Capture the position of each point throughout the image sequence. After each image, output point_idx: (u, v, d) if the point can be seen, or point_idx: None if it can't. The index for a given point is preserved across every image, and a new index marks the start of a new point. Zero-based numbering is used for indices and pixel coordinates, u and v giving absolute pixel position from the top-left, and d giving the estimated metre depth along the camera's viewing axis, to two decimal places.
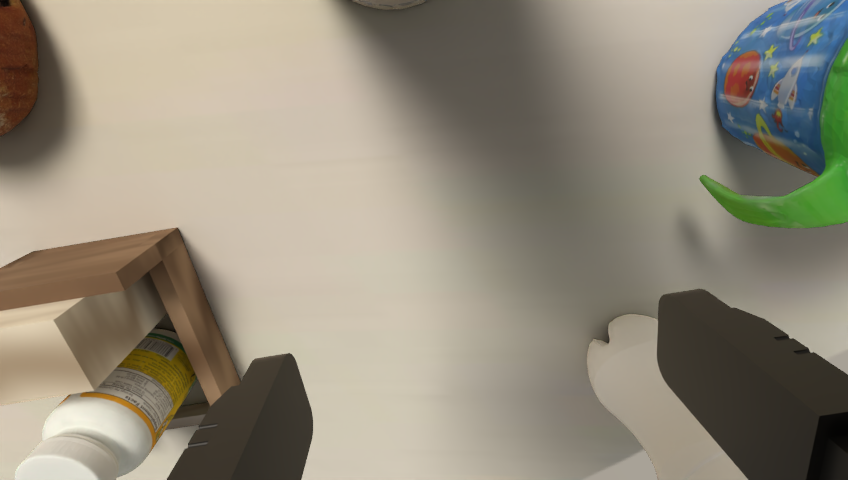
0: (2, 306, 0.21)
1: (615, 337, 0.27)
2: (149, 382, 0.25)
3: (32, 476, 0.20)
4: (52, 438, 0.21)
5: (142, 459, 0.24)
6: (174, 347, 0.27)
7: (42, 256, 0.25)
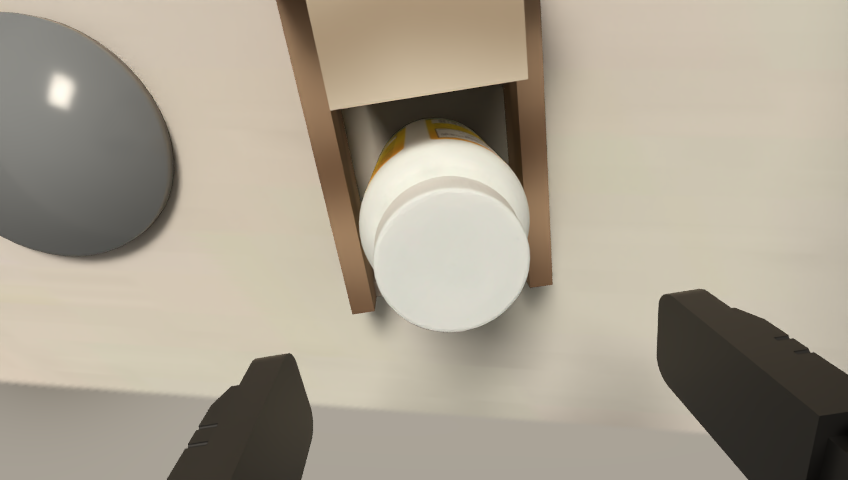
0: None
1: None
2: None
3: (412, 239, 0.10)
4: (435, 178, 0.11)
5: None
6: None
7: None
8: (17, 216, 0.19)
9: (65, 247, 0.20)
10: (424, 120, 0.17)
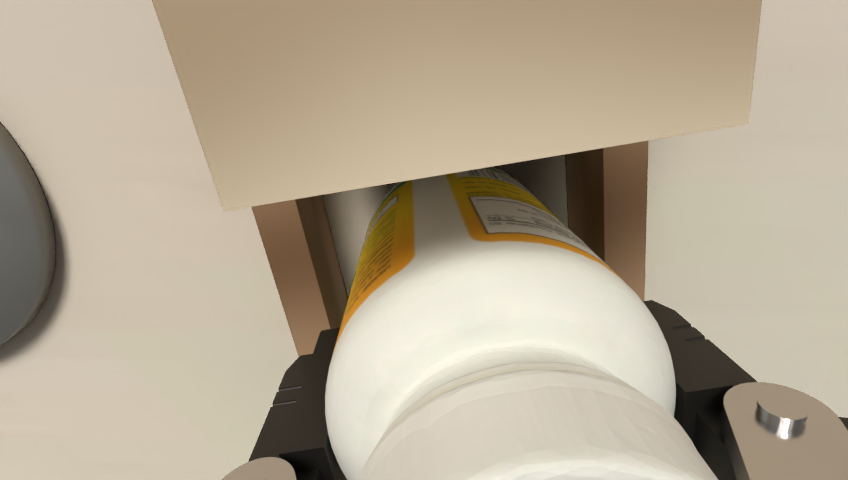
0: None
1: None
2: None
3: None
4: (505, 380, 0.04)
5: None
6: None
7: None
8: None
9: None
10: None
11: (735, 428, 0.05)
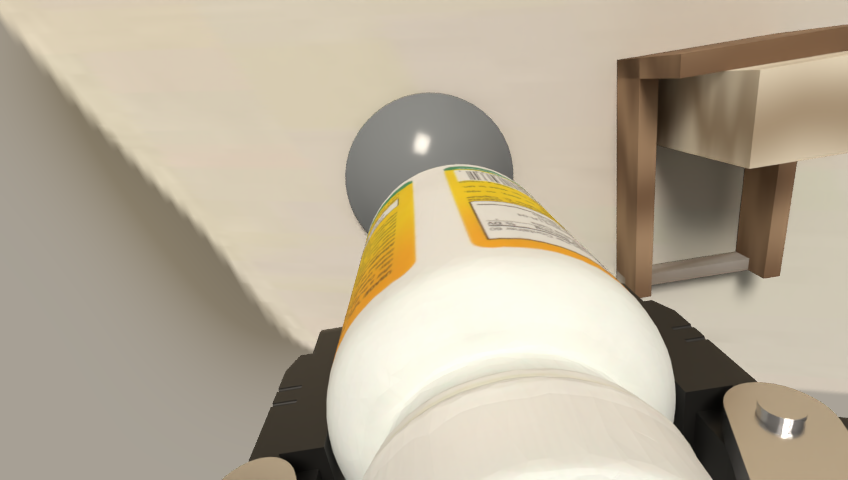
0: (748, 61, 0.19)
1: None
2: None
3: None
4: (506, 387, 0.04)
5: None
6: None
7: None
8: None
9: None
10: (443, 171, 0.11)
11: (735, 428, 0.05)
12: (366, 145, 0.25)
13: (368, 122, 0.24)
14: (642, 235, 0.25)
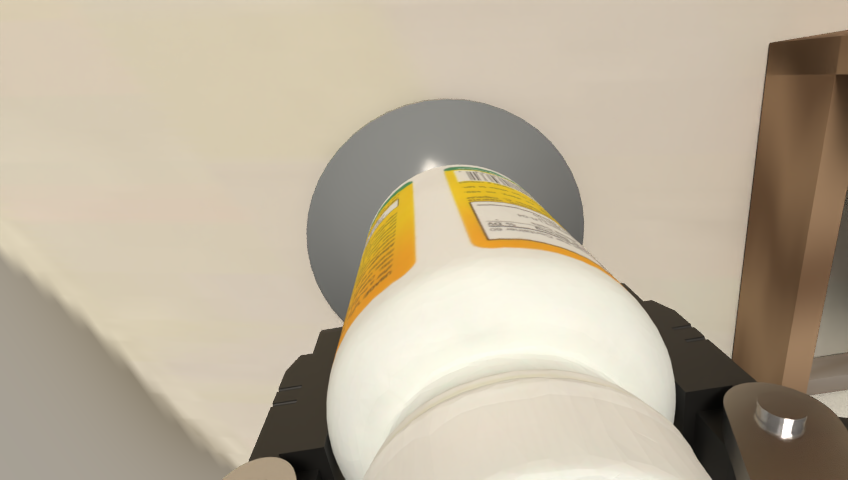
0: None
1: None
2: None
3: None
4: (505, 389, 0.04)
5: None
6: (534, 199, 0.11)
7: None
8: None
9: None
10: (443, 172, 0.11)
11: (735, 428, 0.05)
12: (341, 187, 0.15)
13: (343, 149, 0.14)
14: (800, 335, 0.15)
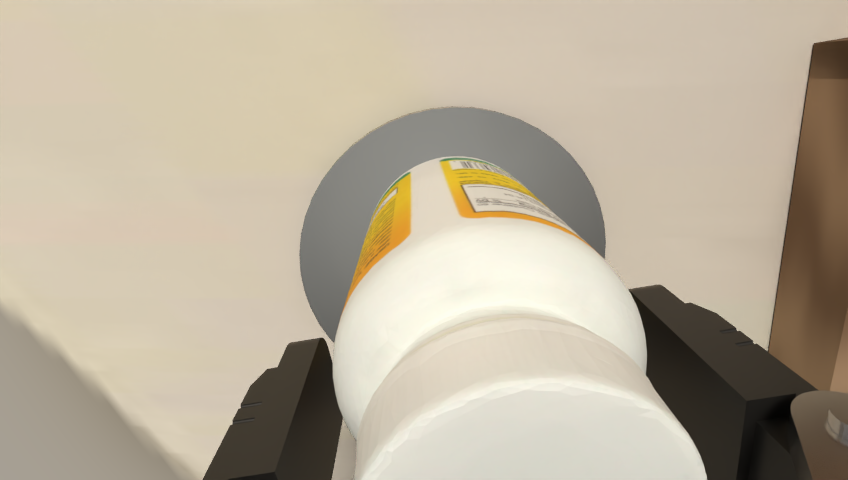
0: None
1: None
2: None
3: None
4: (485, 326, 0.05)
5: None
6: None
7: None
8: None
9: None
10: (438, 162, 0.12)
11: (808, 440, 0.05)
12: (337, 205, 0.13)
13: (339, 163, 0.13)
14: (845, 366, 0.14)
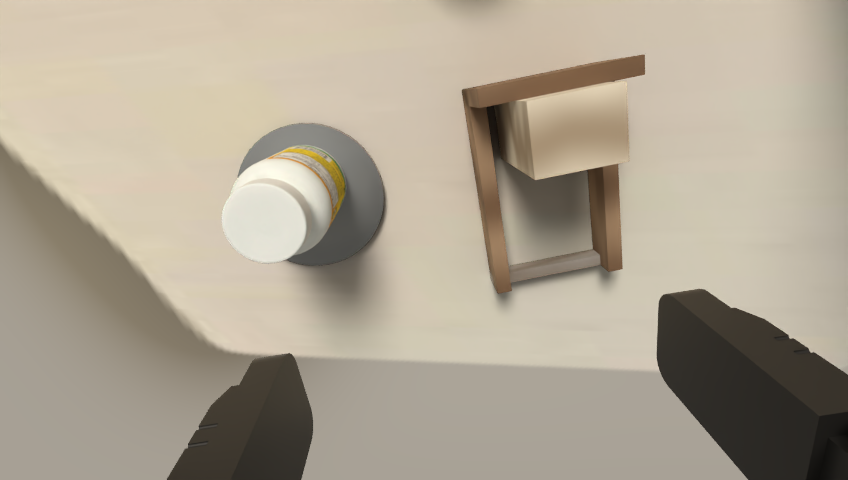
0: (534, 92, 0.23)
1: None
2: (320, 166, 0.24)
3: (240, 211, 0.20)
4: (255, 179, 0.21)
5: (324, 231, 0.23)
6: (328, 156, 0.27)
7: (490, 84, 0.27)
8: None
9: (313, 260, 0.31)
10: (289, 147, 0.27)
11: None
12: None
13: (251, 150, 0.28)
14: (494, 238, 0.29)
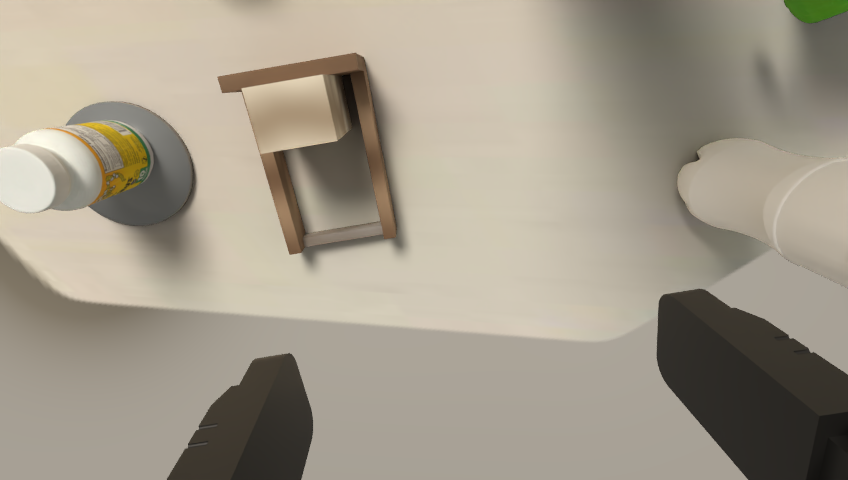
0: (266, 81, 0.28)
1: (706, 151, 0.34)
2: (101, 137, 0.29)
3: None
4: (15, 144, 0.26)
5: (93, 190, 0.28)
6: (127, 130, 0.32)
7: None
8: (110, 204, 0.36)
9: (134, 220, 0.36)
10: None
11: None
12: None
13: (69, 123, 0.33)
14: (280, 206, 0.34)
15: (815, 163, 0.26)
